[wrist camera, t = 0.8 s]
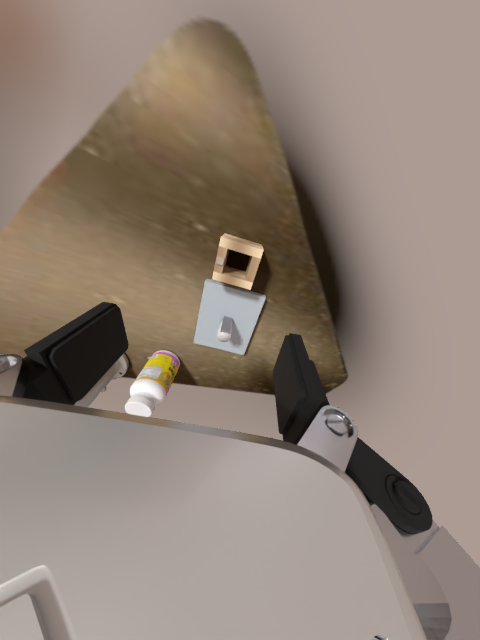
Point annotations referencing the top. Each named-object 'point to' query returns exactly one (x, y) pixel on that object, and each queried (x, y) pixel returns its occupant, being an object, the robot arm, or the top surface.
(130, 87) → the top surface
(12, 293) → the top surface
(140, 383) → the supplement bottle
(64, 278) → the top surface
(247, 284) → the wooden hollow box
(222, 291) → the shaft block
